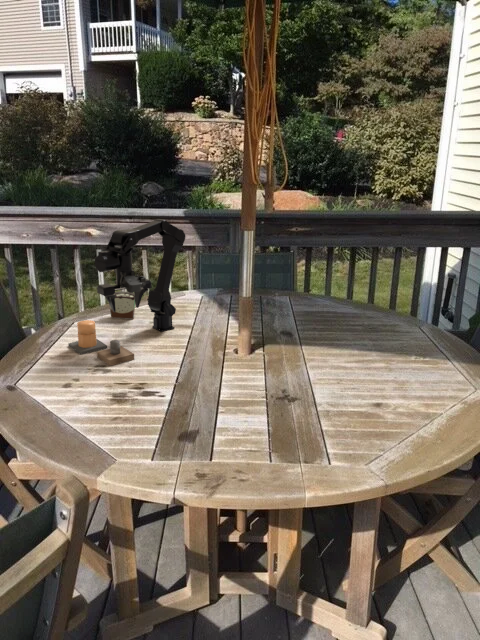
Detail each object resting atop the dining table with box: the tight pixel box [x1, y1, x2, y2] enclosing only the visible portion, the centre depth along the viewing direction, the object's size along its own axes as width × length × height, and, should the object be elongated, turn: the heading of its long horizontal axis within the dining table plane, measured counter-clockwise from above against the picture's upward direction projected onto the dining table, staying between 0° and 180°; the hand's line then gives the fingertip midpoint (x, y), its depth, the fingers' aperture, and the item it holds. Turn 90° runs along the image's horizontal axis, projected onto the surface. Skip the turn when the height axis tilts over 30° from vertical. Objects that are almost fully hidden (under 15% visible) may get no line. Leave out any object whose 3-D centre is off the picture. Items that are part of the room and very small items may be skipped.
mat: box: [67, 338, 108, 355], centre depth 190 cm, size 10×10×1 cm
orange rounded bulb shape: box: [76, 319, 97, 348], centre depth 188 cm, size 6×6×8 cm
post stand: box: [96, 339, 135, 366], centre depth 180 cm, size 9×9×6 cm
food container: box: [108, 290, 136, 320], centre depth 221 cm, size 12×6×10 cm, turn 84°
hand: (125, 309), depth 192 cm, fingers open, 9 cm apart
